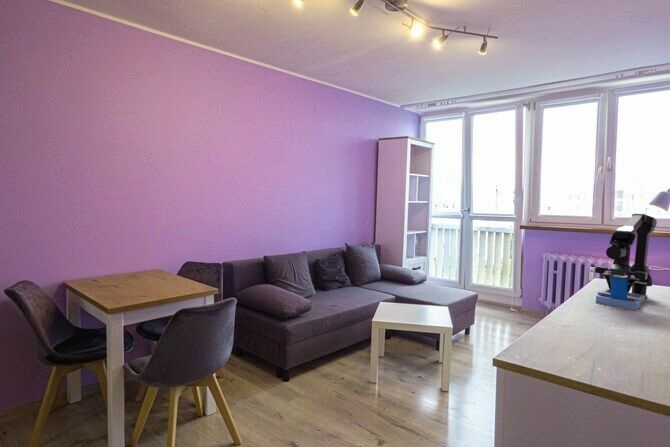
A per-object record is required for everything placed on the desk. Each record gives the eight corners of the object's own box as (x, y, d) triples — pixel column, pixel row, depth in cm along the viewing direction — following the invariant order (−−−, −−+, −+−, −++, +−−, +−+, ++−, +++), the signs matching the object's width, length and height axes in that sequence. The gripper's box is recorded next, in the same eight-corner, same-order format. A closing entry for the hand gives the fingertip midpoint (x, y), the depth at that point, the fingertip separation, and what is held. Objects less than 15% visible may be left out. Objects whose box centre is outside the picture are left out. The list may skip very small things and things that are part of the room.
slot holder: (605, 294, 194) (606, 286, 193) (644, 301, 183) (645, 293, 182) (595, 302, 179) (595, 293, 179) (636, 310, 168) (637, 301, 168)
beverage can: (620, 300, 180) (623, 274, 179) (630, 304, 174) (632, 277, 173) (606, 299, 181) (608, 274, 180) (614, 303, 174) (617, 277, 173)
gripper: (593, 256, 177) (590, 289, 178) (645, 262, 163) (641, 298, 165) (599, 253, 184) (596, 285, 186) (649, 259, 171) (645, 294, 172)
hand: (618, 290), depth 177 cm, fingers closed on beverage can, 6 cm apart
